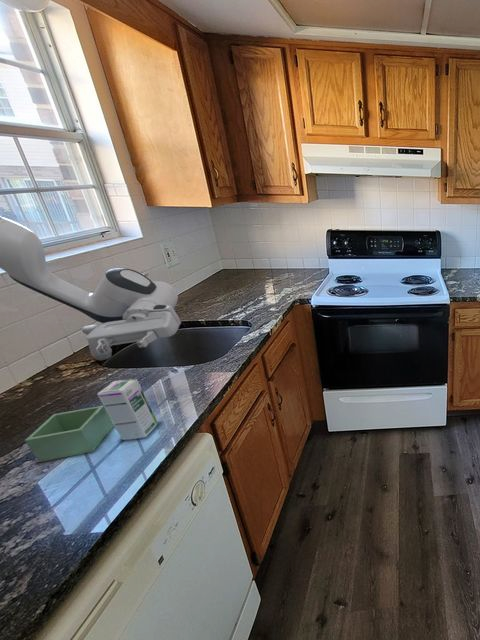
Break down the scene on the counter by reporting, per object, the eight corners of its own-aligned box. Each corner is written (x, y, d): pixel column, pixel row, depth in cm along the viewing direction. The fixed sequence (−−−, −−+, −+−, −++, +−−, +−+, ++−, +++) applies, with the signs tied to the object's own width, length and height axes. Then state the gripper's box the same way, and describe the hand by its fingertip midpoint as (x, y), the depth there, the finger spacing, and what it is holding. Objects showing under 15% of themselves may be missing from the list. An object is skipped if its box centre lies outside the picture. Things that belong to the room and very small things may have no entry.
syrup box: (146, 437, 93) (123, 389, 87) (120, 440, 92) (95, 392, 86) (159, 424, 98) (138, 377, 92) (135, 426, 97) (112, 380, 91)
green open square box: (93, 451, 89) (81, 429, 86) (38, 462, 86) (24, 440, 83) (114, 425, 98) (103, 405, 95) (65, 434, 95) (53, 414, 92)
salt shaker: (91, 362, 132) (74, 330, 127) (97, 356, 137) (81, 324, 132) (111, 359, 135) (95, 327, 129) (116, 353, 139) (102, 321, 134)
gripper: (97, 315, 101) (66, 345, 90) (176, 304, 104) (156, 332, 93) (110, 333, 105) (83, 364, 94) (187, 322, 108) (169, 351, 97)
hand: (120, 348), depth 94 cm, fingers open, 8 cm apart
